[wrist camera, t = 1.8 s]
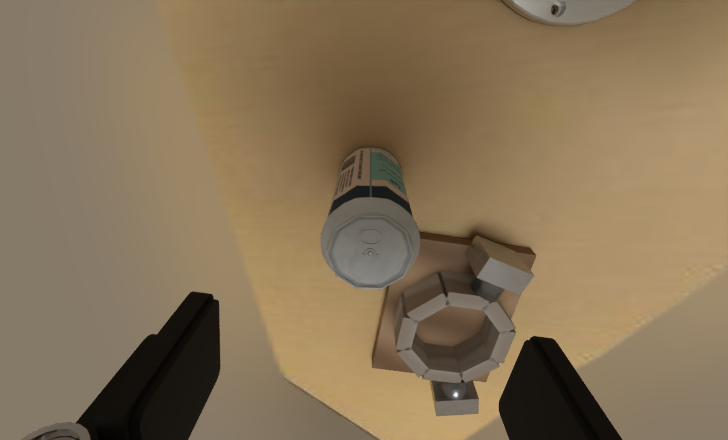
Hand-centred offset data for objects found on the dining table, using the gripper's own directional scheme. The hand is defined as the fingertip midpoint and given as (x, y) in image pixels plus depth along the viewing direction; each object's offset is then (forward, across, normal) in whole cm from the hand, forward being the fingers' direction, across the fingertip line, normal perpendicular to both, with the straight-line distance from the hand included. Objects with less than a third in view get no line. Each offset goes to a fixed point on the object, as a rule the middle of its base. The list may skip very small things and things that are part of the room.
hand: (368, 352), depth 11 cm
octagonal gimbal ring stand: (+18, -8, +11) cm, 22 cm away
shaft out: (+17, -10, +17) cm, 26 cm away
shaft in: (+17, -10, +5) cm, 20 cm away
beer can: (+18, 0, 0) cm, 18 cm away
